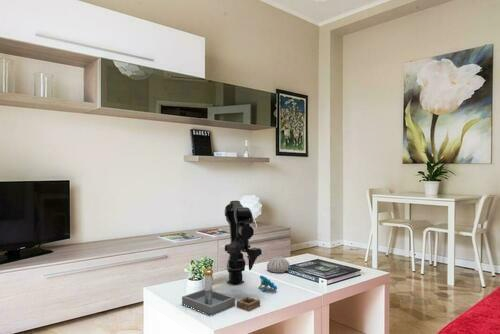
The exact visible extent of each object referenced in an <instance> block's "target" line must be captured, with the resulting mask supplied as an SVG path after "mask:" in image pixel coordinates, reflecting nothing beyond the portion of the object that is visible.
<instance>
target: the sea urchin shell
mask: <svg viewBox="0 0 500 334" xmlns="http://www.w3.org/2000/svg"><path fill="white" fill-rule="evenodd" d="M288 268H291V264H290V263H289V261H288V260H287V259H286V258H284V257H282V256H279V255H278V256H274V257H273V258H271V259H270V260H269V261H268V262H267V265H266V269H267V270H268V271H269V272H270V273H277V274H280V273H282V274H283V273H286V272H285V271H287V269H288ZM287 272H288V271H287Z"/></svg>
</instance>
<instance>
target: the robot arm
mask: <svg viewBox="0 0 500 334" xmlns="http://www.w3.org/2000/svg"><path fill="white" fill-rule="evenodd" d="M224 217H225V220H226V222H227V223H228V225H229V236H230V237H229V238H230V239H229V240H230V243H229V244H226V245H225V246H224V252H226V254H228V255H229V256H228V260H227V262H226V271H227V272H228V280H227V281H226V283H227V284H231V285H234V286H235V285H236V286H237V285H239V284H240V285H241V284H242V283H243V284H244V282H245V281H244V280H243V272H245V270H246V260H245V258H244V254H243V253H246V254H247V256H246V257H247V259H248V270H249V271H252V269H253V266H254V264H255V263H256V260H257V258H258V257H260V256H262V253H263V252H262V251H263V250H262V249H261V248H259V247H251V244H250V241H249V240H251V238H252V237H253V236H254V233H255V231H254V228H253V227H252V226H251V225H250V224H253V223H254V216H253V213H252V210H251V209H250V207H247V206H244V205H243V204H241V201H240V200H231V201H229V204H228V203H227V205H226V206H225V208H224Z"/></svg>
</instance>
